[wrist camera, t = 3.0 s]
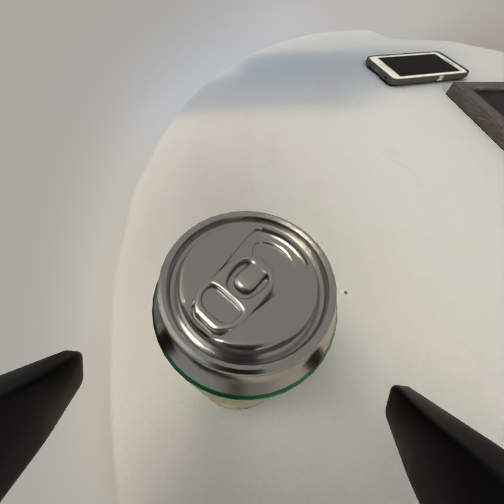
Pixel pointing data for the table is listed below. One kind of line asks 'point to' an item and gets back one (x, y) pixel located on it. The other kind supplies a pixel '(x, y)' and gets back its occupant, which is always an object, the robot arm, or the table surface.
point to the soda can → (245, 307)
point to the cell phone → (416, 67)
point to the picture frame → (482, 105)
